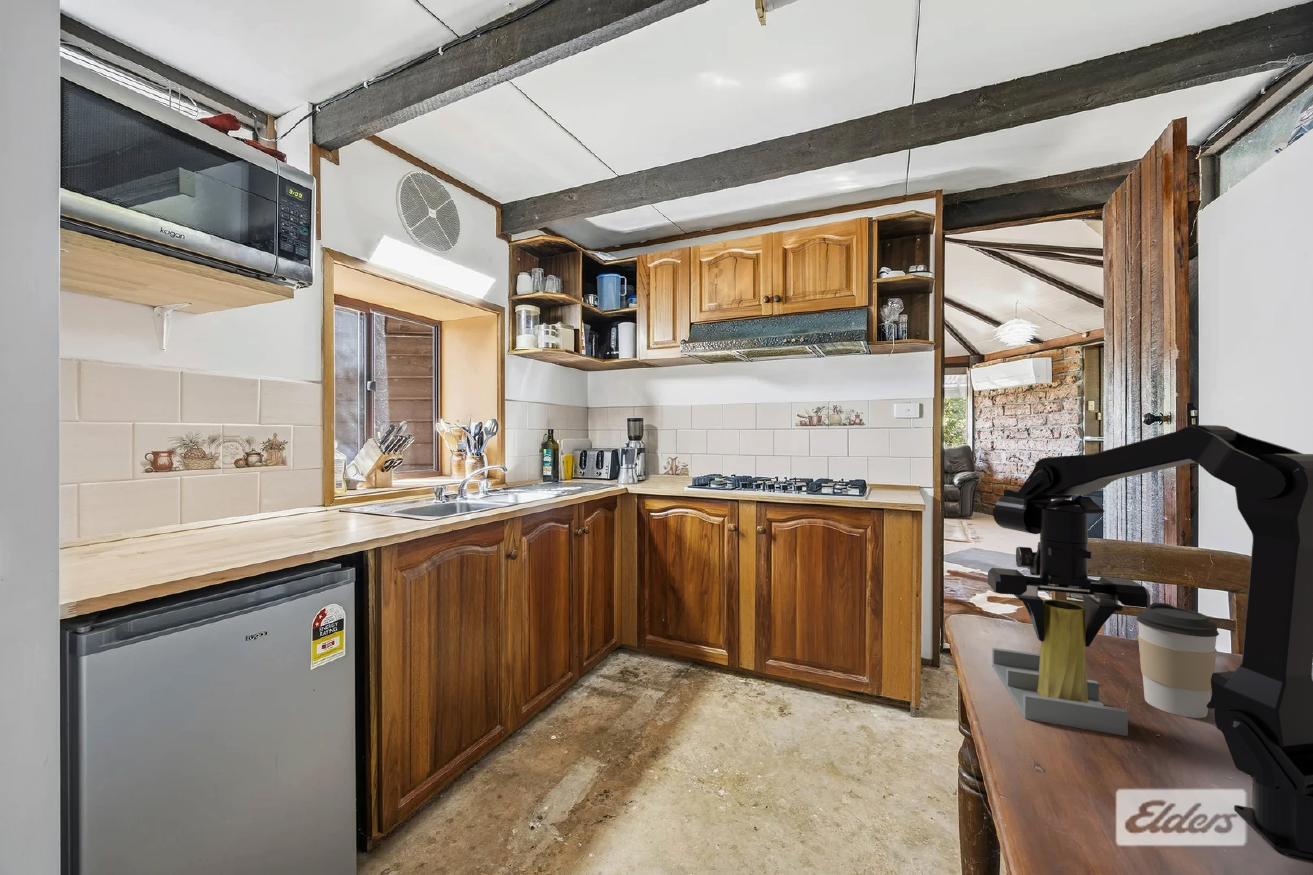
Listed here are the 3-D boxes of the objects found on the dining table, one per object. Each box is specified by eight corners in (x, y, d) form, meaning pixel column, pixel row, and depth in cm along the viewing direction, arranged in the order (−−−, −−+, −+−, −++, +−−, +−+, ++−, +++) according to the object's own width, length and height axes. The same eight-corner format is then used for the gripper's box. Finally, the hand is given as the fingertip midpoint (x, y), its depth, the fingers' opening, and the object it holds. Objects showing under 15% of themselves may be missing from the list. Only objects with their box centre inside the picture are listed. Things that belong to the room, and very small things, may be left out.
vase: (1028, 693, 80) (1029, 601, 80) (1051, 685, 83) (1052, 596, 83) (1074, 712, 75) (1074, 613, 75) (1097, 703, 77) (1097, 607, 77)
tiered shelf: (1127, 735, 72) (1128, 712, 72) (1025, 718, 76) (1025, 696, 76) (1072, 677, 90) (1073, 658, 90) (992, 665, 94) (992, 647, 94)
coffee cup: (1236, 725, 75) (1237, 621, 75) (1162, 718, 77) (1163, 616, 77) (1186, 695, 84) (1187, 602, 84) (1121, 689, 86) (1122, 598, 86)
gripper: (1114, 535, 83) (1114, 633, 83) (980, 527, 89) (979, 617, 89) (1152, 549, 72) (1152, 660, 72) (997, 538, 79) (996, 641, 79)
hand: (1062, 642), depth 79 cm, fingers open, 5 cm apart
